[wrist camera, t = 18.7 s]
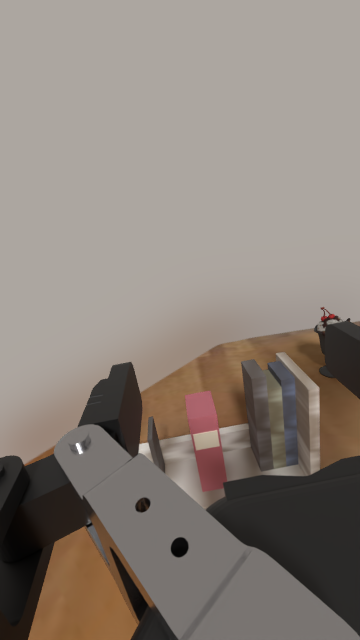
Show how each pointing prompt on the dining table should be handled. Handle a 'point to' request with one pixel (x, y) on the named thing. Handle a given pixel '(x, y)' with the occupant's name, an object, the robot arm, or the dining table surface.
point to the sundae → (321, 332)
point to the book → (206, 440)
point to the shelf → (242, 447)
